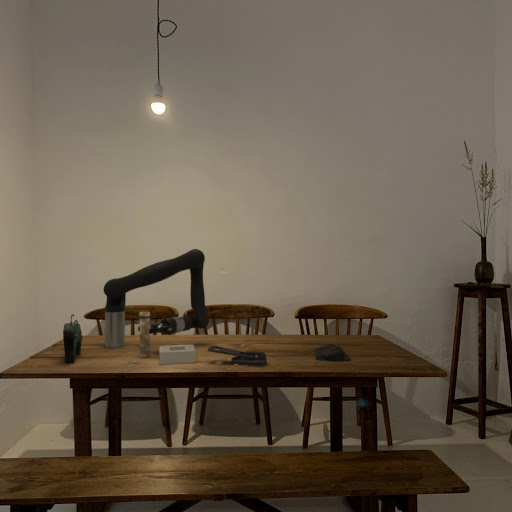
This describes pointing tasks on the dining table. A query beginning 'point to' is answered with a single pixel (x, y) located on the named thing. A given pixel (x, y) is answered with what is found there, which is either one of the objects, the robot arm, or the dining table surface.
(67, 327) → the ceramic cat
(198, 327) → the robot arm
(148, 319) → the beech dowel
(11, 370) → the dining table surface
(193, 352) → the well block
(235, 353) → the zipper pull
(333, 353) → the dark slate chunk
